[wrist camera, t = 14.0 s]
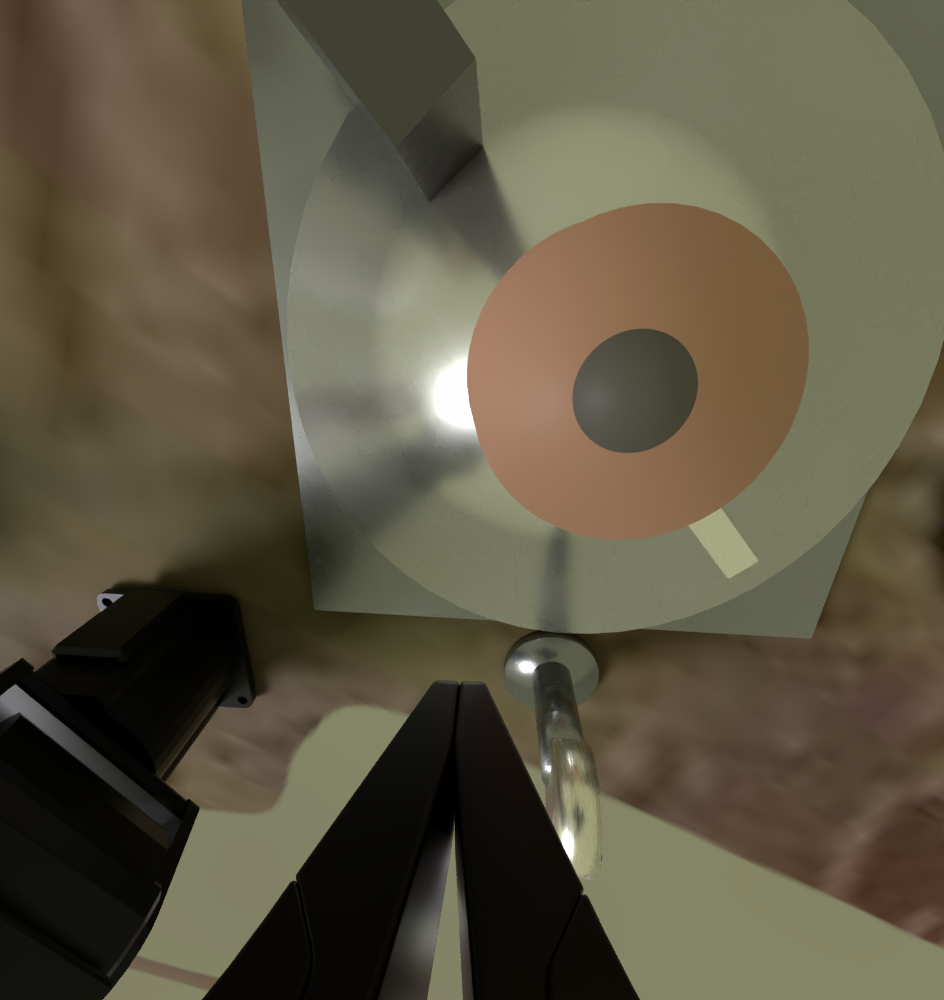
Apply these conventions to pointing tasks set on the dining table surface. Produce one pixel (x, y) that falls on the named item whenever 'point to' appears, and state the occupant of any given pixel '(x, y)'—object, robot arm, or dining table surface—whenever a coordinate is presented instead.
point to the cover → (637, 370)
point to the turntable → (573, 199)
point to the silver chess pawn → (562, 736)
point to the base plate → (287, 185)
